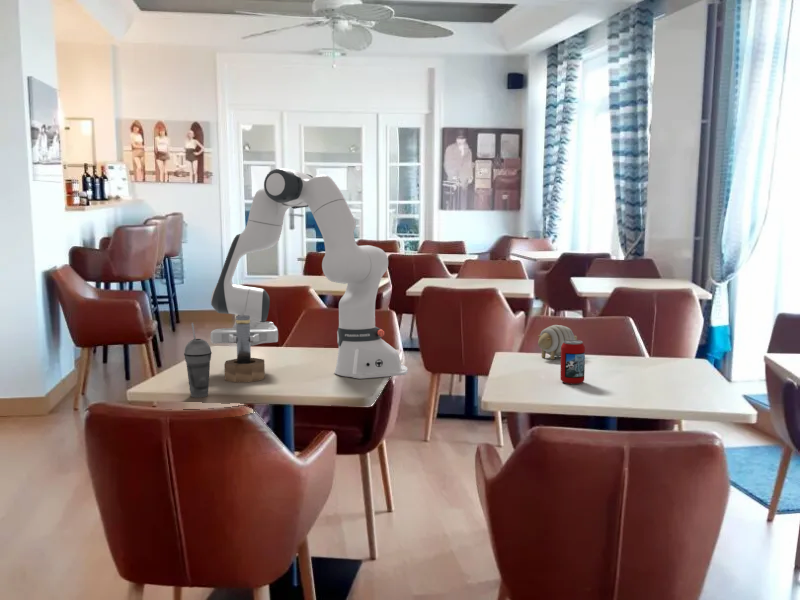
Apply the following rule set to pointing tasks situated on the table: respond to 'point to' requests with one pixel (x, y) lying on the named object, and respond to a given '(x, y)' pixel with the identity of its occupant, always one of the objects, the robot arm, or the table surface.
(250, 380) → the wooden octagonal ring
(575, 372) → the beverage can
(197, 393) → the beverage cup
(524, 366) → the table surface
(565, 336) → the toy sheep
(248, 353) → the gold-banded metal cylinder
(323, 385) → the table surface
